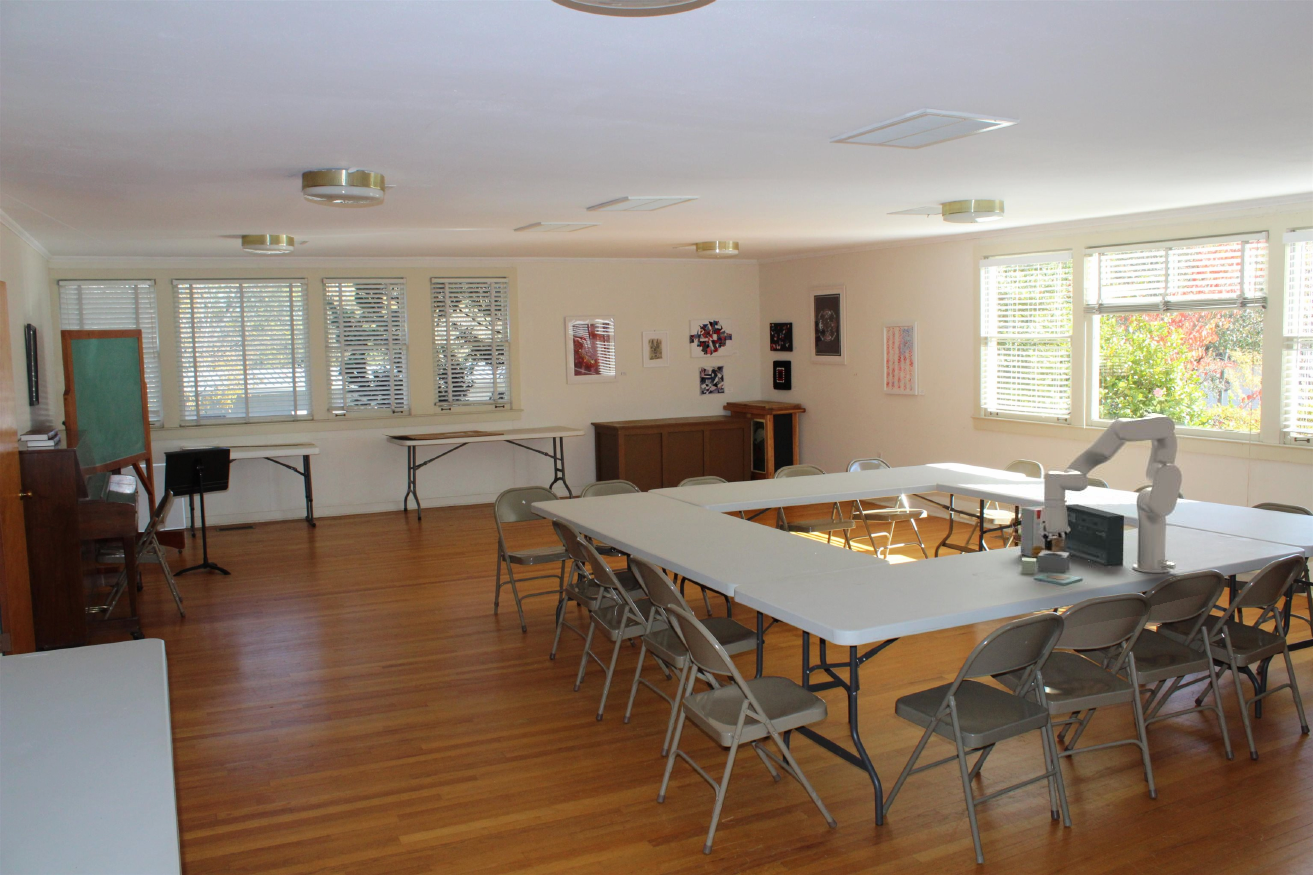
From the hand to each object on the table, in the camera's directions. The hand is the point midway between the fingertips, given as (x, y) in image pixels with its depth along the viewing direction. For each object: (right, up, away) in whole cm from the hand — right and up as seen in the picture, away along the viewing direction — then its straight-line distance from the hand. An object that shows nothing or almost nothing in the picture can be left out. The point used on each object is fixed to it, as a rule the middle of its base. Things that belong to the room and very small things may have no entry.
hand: (1054, 548), depth 361 cm
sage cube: (-11, -9, -4) cm, 15 cm away
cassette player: (+22, -6, +16) cm, 28 cm away
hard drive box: (+6, -6, +25) cm, 27 cm away
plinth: (0, -8, +1) cm, 8 cm away
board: (-6, -9, -17) cm, 20 cm away
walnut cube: (0, -1, 0) cm, 1 cm away
